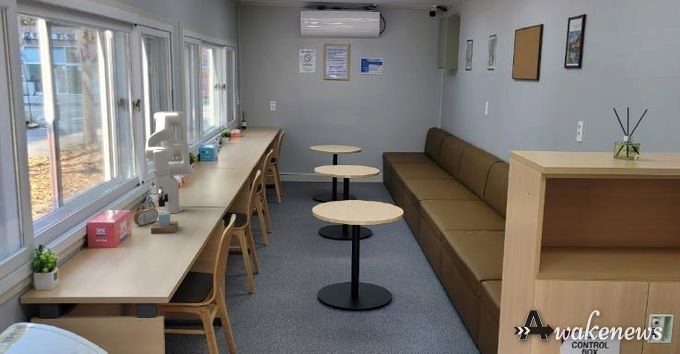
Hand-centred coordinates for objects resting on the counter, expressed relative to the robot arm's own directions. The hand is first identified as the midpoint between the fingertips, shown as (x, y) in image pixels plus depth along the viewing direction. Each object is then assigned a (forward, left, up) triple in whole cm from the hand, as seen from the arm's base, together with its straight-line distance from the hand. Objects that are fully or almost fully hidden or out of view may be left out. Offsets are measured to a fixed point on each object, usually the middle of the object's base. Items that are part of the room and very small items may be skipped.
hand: (163, 204), depth 302 cm
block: (0, 0, -11) cm, 11 cm away
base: (+1, 0, -14) cm, 14 cm away
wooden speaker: (-13, -12, -14) cm, 23 cm away
